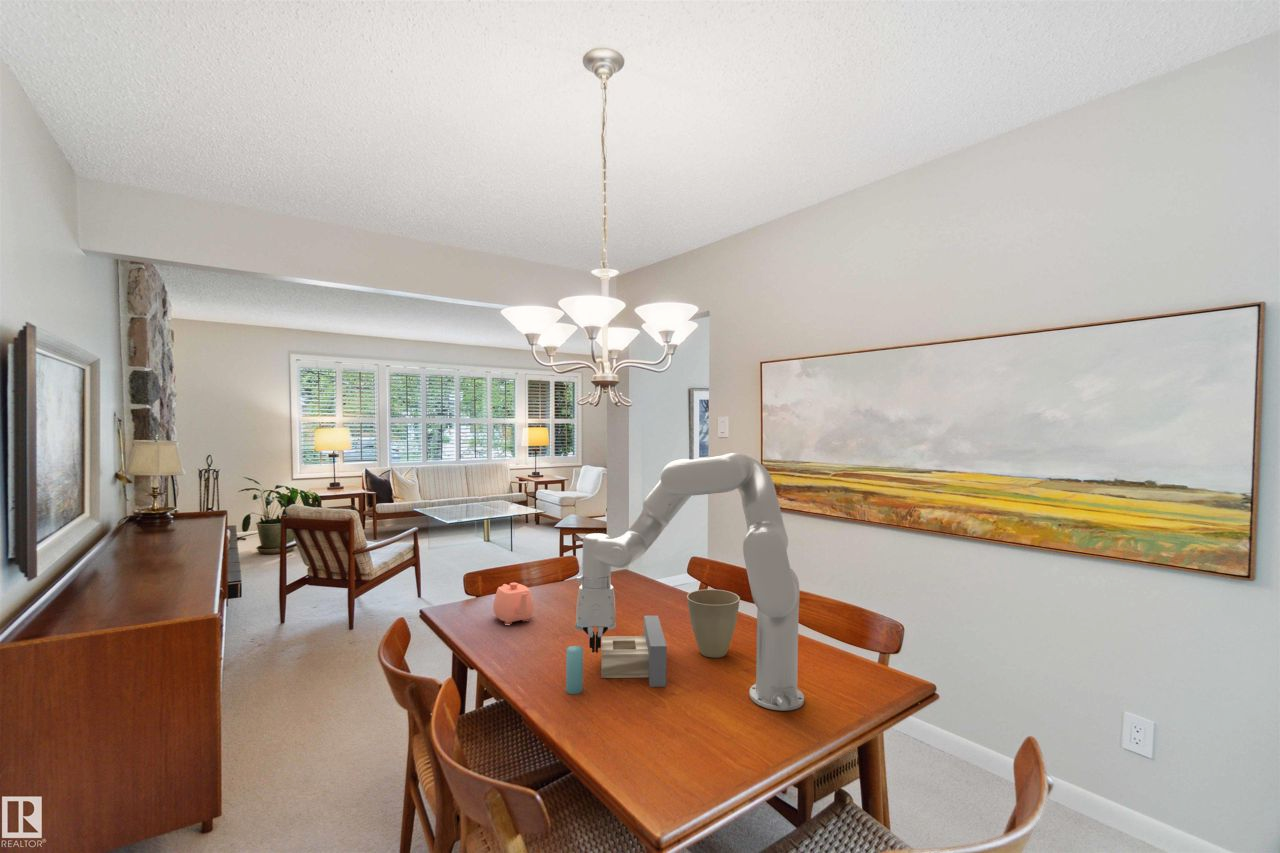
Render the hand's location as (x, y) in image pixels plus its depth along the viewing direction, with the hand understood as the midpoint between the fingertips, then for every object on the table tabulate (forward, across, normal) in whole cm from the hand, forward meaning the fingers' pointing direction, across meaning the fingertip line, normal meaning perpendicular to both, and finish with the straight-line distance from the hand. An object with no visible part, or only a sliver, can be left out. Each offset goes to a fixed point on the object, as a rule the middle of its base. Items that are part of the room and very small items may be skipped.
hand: (595, 650), depth 148 cm
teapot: (+5, -27, +37) cm, 46 cm away
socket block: (+5, +8, 0) cm, 9 cm away
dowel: (+5, -5, -12) cm, 14 cm away
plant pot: (+5, +33, +9) cm, 35 cm away
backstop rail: (+5, +16, 0) cm, 16 cm away
